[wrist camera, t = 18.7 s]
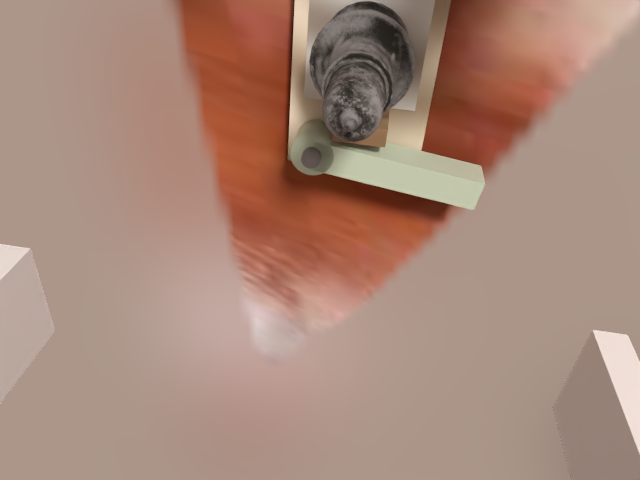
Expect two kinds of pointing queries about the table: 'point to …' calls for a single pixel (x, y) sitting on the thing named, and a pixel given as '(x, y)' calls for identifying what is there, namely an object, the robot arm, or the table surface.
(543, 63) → the table surface
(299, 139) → the leg
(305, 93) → the board
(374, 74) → the grey stone chess piece
